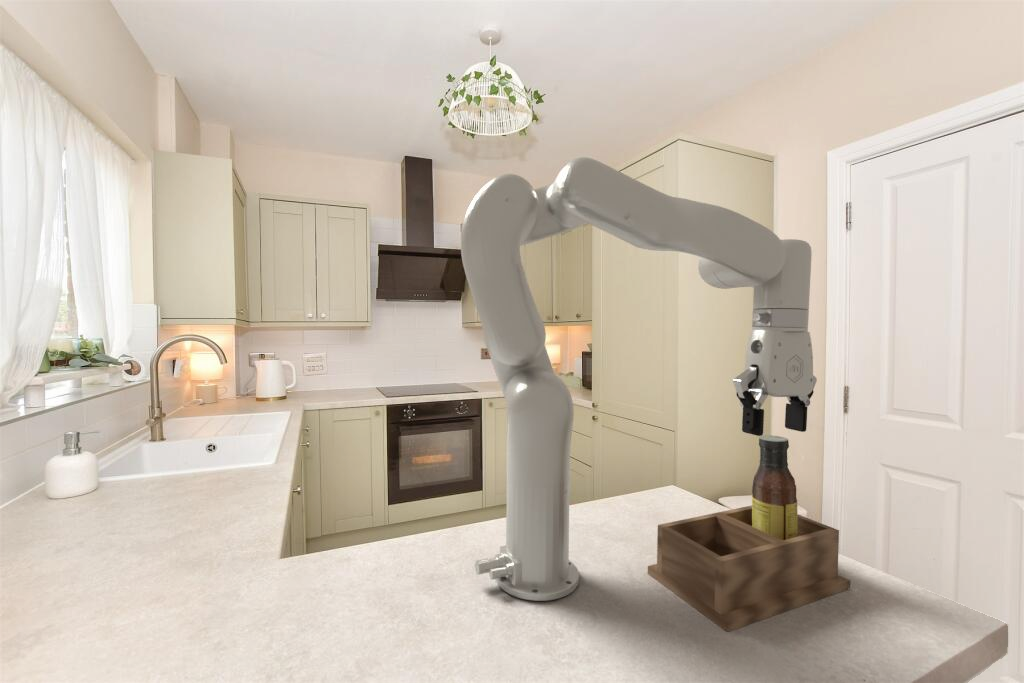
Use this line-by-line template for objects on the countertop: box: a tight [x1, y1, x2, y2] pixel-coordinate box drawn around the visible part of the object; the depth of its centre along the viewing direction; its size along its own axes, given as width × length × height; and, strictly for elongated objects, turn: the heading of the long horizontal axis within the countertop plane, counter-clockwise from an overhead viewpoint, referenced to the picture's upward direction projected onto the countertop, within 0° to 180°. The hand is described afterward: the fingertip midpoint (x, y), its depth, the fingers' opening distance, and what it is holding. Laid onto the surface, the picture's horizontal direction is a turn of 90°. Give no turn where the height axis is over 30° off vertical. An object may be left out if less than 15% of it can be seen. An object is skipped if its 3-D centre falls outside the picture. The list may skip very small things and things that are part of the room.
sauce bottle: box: [751, 434, 798, 540], centre depth 72 cm, size 7×6×20 cm
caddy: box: [647, 504, 851, 633], centre depth 70 cm, size 25×15×8 cm, turn 114°
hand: (774, 431), depth 72 cm, fingers open, 9 cm apart
